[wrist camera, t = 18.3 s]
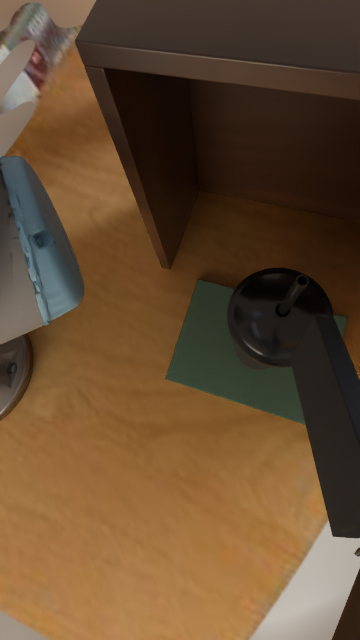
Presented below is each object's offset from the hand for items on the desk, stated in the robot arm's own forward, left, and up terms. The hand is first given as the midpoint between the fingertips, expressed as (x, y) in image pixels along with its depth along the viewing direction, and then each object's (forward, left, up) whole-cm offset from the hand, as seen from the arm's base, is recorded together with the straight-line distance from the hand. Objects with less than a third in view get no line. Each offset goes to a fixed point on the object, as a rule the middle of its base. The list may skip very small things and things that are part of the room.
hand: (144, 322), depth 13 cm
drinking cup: (+3, +8, -25) cm, 26 cm away
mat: (+2, +8, -25) cm, 26 cm away
